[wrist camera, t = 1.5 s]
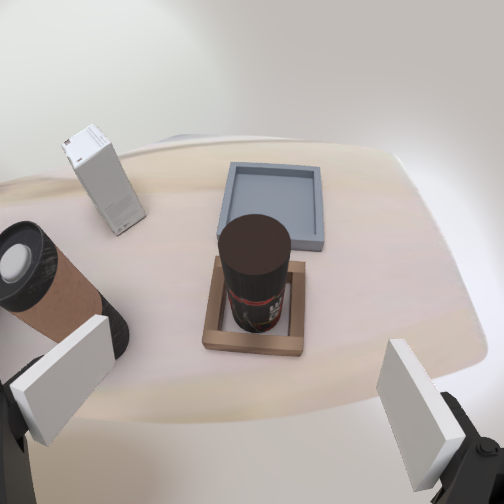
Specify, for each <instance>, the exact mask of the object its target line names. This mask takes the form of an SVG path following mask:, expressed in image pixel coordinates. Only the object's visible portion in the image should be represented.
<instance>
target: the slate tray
mask: <svg viewBox="0 0 504 504" xmlns="http://www.w3.org/2000/svg"><path fill="white" fill-rule="evenodd" d="M248 214H263V215H266V216H270V217H272V218H274V219H276V220H278V221H279V222H280V223H281V224H282V225H284V226H285V228H286V229H287V231H288V233H289V235H290V239H291V250H303V251H318V252H321V250H322V247H323V244H324V226H323V206H322V189H321V174H320V167H312V166H300V165H285V164H269V163H248V162H231V163H230V168H229V173H228V178H227V183H226V188H225V193H224V198H223V203H222V208H221V214H220V219H219V224H218V229H217V239H218V241H219V236H220V234H221V232H222V230H223V229H224V227H225V226H226V225H227V224H228V223H229V222H231V221H232V220H234V219H235V218H238V217H240V216H243V215H248Z"/></svg>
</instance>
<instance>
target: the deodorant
mask: <svg viewBox="0 0 504 504" xmlns="http://www.w3.org/2000/svg"><path fill="white" fill-rule="evenodd" d="M218 249H219V255H220V259H221V264H222V268H223V273H224V278H225V282H226V287H227V291H228V296H229V300H230V304H231V309H232V313H233V317H234V319H235V321H236V323H237V324H238V325H239V326H240V327H241V328H242V329H244V330H245V331H248V332H251V333H261V332H266V331H268V330H270V329H271V328H273V327H274V326H275V325H276V323H277V322H278V321H279V318H280V315H281V310H282V304H283V297H284V291H285V285H286V278H287V272H288V265H289V259H290V252H291V239H290V235H289V233H288V231H287V229H286V228H285V226H284V225H282V224H281V223H280V222H279V221H278V220H276V219H274V218H272V217H270V216H266V215H263V214H248V215H243V216H240V217H238V218H235V219H234V220H232V221H231V222H229V223H228V224H227V225H226V226H225V227H224V229H223V230H222V232H221V234H220V236H219V241H218Z"/></svg>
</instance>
